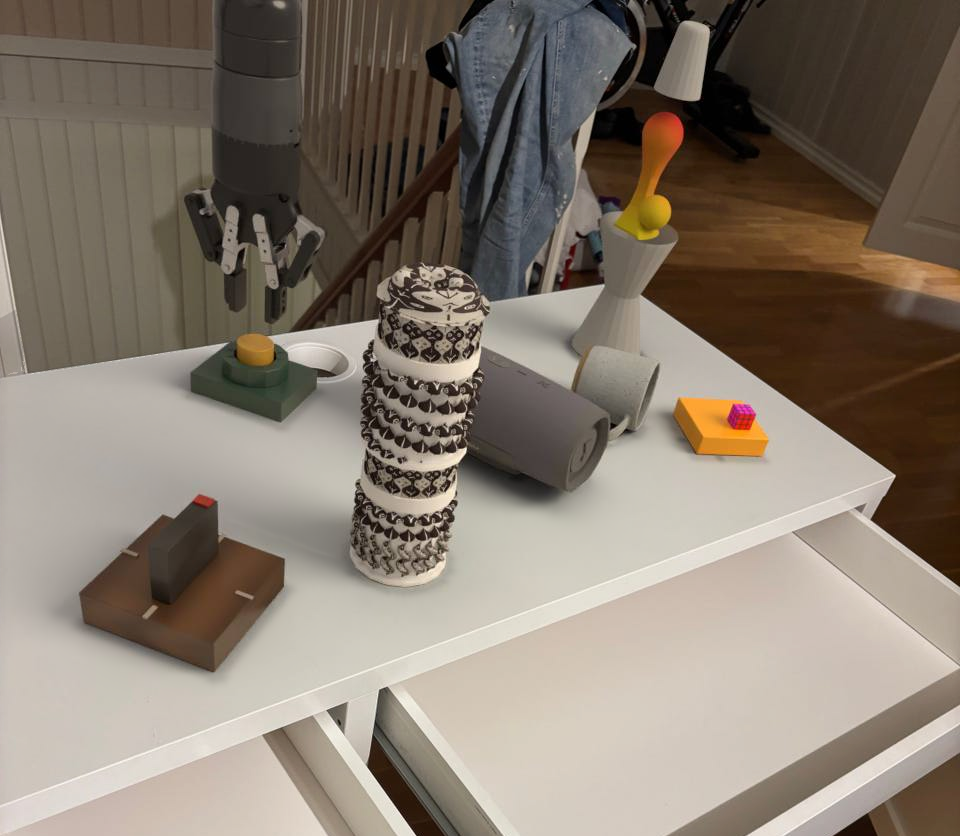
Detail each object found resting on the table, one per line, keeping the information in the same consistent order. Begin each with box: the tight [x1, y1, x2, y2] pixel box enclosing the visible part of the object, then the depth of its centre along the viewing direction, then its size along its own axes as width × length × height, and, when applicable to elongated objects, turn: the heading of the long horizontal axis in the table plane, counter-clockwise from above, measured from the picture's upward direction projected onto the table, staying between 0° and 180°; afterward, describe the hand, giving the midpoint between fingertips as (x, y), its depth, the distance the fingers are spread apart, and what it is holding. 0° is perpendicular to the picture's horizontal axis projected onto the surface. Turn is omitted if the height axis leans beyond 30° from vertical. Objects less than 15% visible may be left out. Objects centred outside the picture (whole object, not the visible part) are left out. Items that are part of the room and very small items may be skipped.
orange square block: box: [672, 397, 770, 457], centre depth 108 cm, size 8×8×4 cm
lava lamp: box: [571, 20, 711, 357], centre depth 108 cm, size 9×9×35 cm
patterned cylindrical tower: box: [349, 261, 491, 588], centre depth 76 cm, size 9×9×25 cm
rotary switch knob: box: [147, 493, 220, 604], centre depth 72 cm, size 7×2×5 cm, turn 161°
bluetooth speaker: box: [466, 345, 612, 494], centre depth 96 cm, size 23×9×10 cm, turn 56°
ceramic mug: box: [570, 346, 661, 443], centre depth 104 cm, size 11×8×8 cm
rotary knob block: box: [78, 514, 286, 673], centre depth 75 cm, size 11×11×3 cm
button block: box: [189, 340, 318, 423], centre depth 99 cm, size 10×8×4 cm
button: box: [236, 333, 275, 366], centre depth 97 cm, size 4×4×2 cm
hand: (255, 313), depth 94 cm, fingers open, 3 cm apart
